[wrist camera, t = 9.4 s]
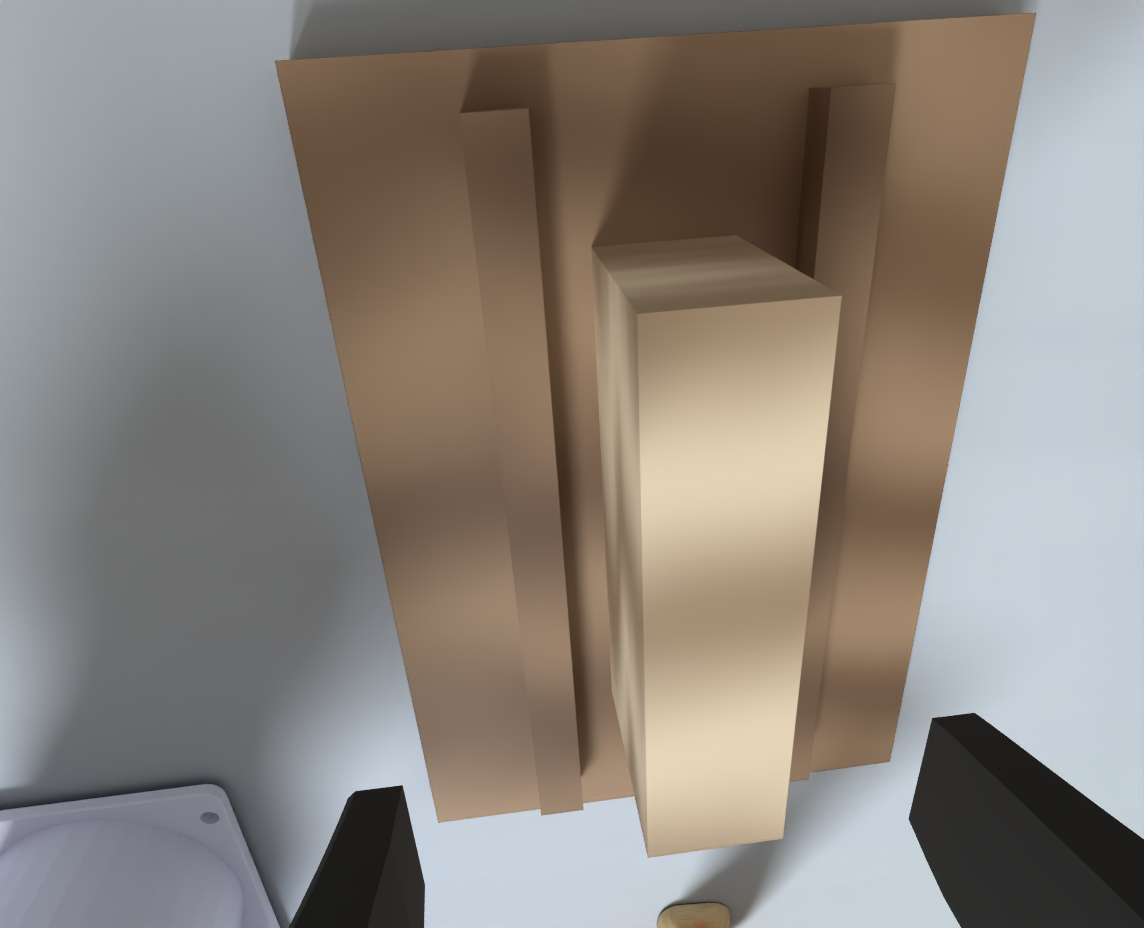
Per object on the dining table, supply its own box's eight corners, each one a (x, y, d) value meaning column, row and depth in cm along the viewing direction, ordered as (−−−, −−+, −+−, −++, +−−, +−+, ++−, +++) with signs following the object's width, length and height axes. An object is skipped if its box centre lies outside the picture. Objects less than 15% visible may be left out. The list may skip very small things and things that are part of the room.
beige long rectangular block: (725, 676, 21) (791, 837, 16) (612, 690, 20) (648, 857, 16) (745, 234, 15) (855, 294, 11) (591, 247, 15) (637, 313, 10)
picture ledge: (874, 736, 24) (906, 788, 22) (439, 794, 23) (436, 853, 21) (1002, 17, 15) (1074, 7, 13) (288, 62, 14) (259, 58, 12)
